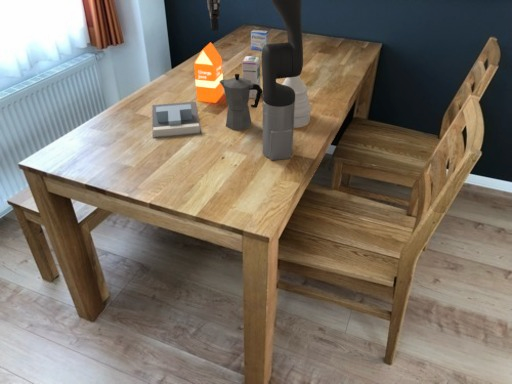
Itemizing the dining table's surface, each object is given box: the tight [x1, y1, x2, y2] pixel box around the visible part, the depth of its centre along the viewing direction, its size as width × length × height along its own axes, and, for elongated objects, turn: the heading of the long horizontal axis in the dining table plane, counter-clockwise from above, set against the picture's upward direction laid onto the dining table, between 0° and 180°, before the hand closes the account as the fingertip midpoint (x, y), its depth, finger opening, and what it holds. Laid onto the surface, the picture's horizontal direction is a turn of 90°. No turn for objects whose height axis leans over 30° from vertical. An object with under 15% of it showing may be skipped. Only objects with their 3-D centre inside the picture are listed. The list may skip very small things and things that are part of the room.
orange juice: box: [193, 42, 224, 104], centre depth 163 cm, size 8×9×20 cm
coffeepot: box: [219, 73, 263, 131], centre depth 145 cm, size 15×9×18 cm, turn 66°
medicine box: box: [250, 29, 270, 52], centre depth 213 cm, size 8×4×9 cm, turn 73°
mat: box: [151, 101, 203, 140], centre depth 154 cm, size 26×16×1 cm, turn 11°
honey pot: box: [281, 75, 312, 129], centre depth 148 cm, size 13×13×18 cm
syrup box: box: [241, 55, 261, 99], centre depth 166 cm, size 6×6×14 cm
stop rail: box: [152, 123, 201, 137], centre depth 144 cm, size 2×15×2 cm, turn 101°
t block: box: [156, 104, 192, 126], centre depth 150 cm, size 12×12×4 cm
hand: (214, 29), depth 142 cm, fingers closed
